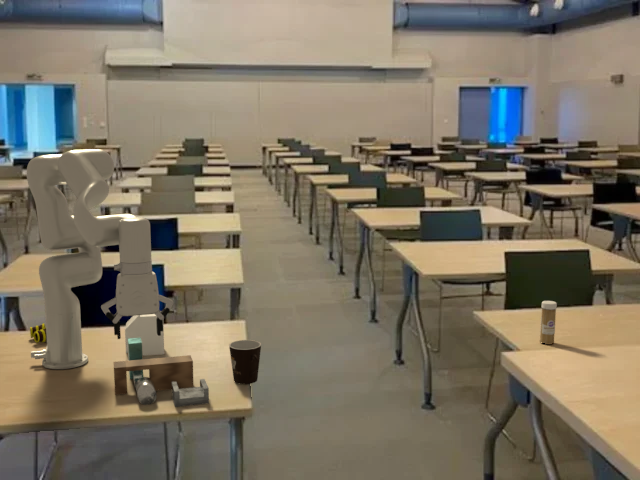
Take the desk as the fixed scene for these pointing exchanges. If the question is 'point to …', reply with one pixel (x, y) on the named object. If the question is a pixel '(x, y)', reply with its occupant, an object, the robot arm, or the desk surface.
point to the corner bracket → (145, 334)
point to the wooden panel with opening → (156, 372)
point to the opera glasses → (39, 333)
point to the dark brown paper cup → (245, 360)
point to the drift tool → (135, 357)
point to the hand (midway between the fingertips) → (139, 335)
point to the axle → (145, 391)
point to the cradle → (190, 394)
